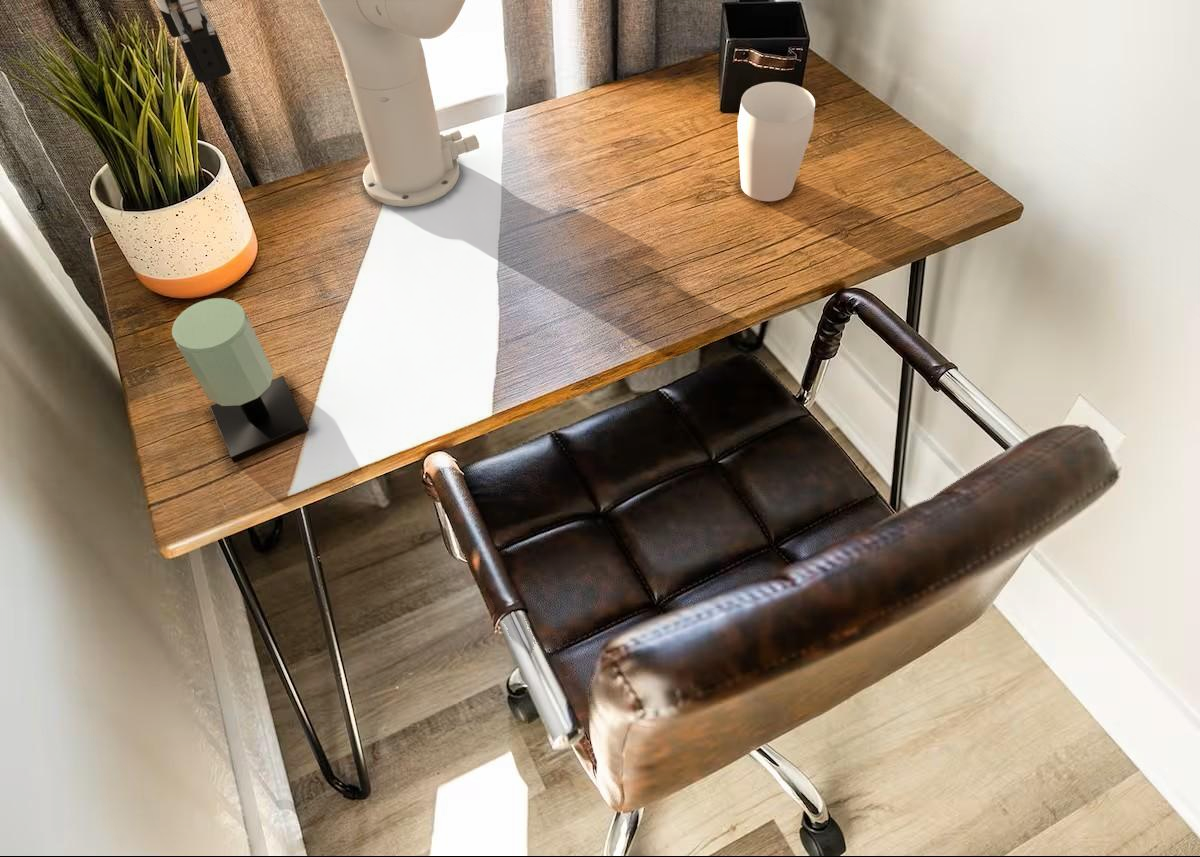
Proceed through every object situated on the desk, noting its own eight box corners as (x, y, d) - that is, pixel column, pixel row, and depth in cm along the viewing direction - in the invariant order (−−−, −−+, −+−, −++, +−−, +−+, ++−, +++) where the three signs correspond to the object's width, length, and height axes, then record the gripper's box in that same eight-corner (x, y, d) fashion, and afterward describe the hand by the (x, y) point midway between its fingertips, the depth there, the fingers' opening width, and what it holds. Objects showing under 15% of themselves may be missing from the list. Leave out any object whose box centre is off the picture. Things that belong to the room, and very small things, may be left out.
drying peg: (285, 381, 97) (239, 285, 86) (309, 430, 93) (265, 336, 82) (212, 411, 95) (156, 317, 84) (234, 463, 90) (177, 371, 79)
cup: (720, 197, 114) (727, 112, 104) (747, 158, 119) (756, 74, 109) (787, 216, 111) (801, 131, 102) (812, 175, 116) (827, 91, 106)
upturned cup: (261, 346, 91) (233, 288, 85) (281, 388, 88) (254, 330, 81) (197, 372, 89) (164, 315, 83) (215, 415, 86) (181, 359, 79)
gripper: (192, -124, 68) (266, 83, 82) (141, -189, 78) (215, 6, 91) (91, -99, 66) (184, 109, 79) (51, -169, 75) (140, 27, 89)
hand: (200, 54), depth 85 cm, fingers open, 9 cm apart
